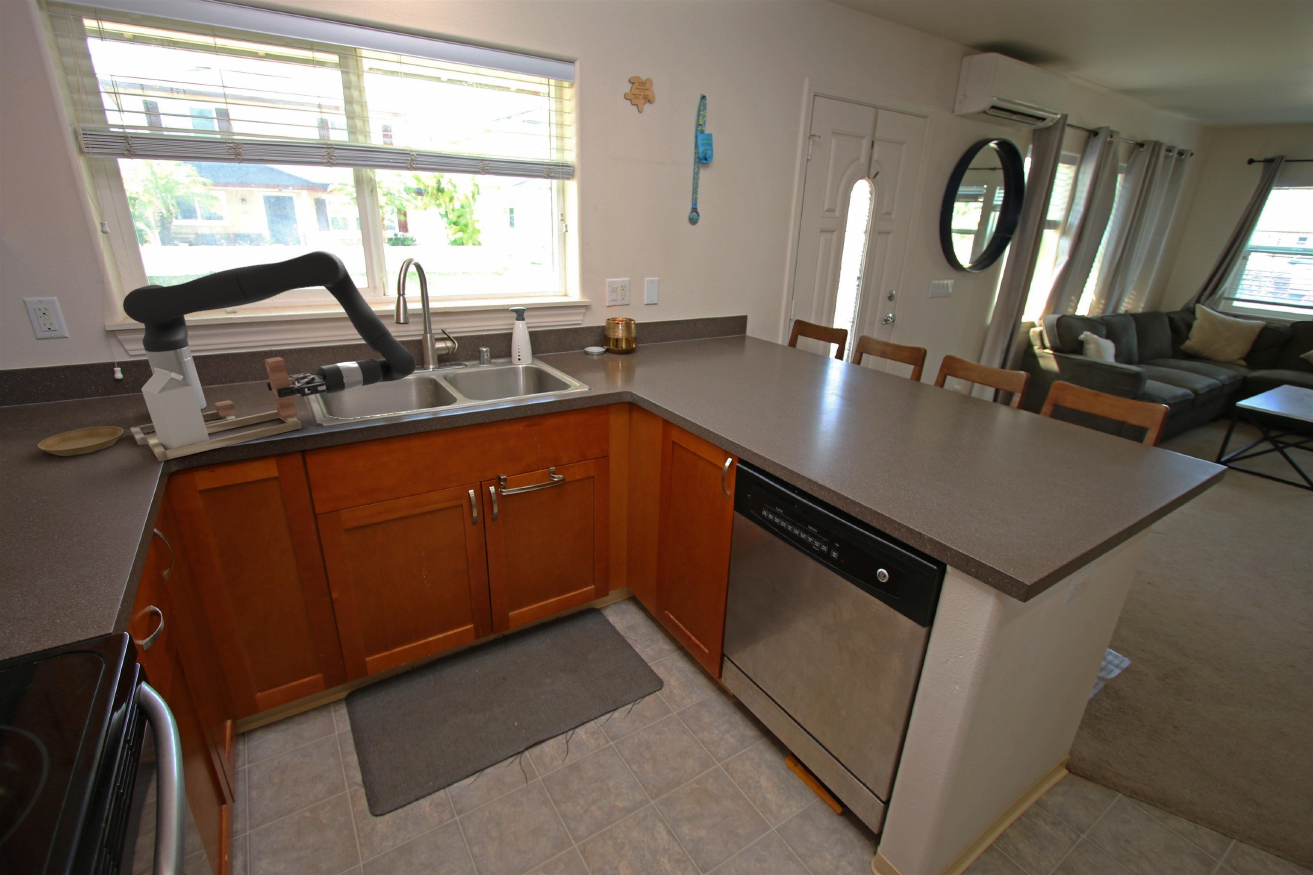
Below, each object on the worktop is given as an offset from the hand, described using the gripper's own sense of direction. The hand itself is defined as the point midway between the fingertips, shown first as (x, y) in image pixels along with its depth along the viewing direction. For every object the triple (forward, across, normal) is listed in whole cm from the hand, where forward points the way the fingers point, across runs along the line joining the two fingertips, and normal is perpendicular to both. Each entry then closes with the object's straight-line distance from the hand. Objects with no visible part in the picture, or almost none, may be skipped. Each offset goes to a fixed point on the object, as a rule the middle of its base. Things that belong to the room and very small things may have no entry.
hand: (272, 390), depth 148 cm
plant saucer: (+36, -17, +10) cm, 41 cm away
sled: (+11, 0, +9) cm, 14 cm away
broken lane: (+17, -13, +9) cm, 24 cm away
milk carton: (+20, +1, +10) cm, 22 cm away
